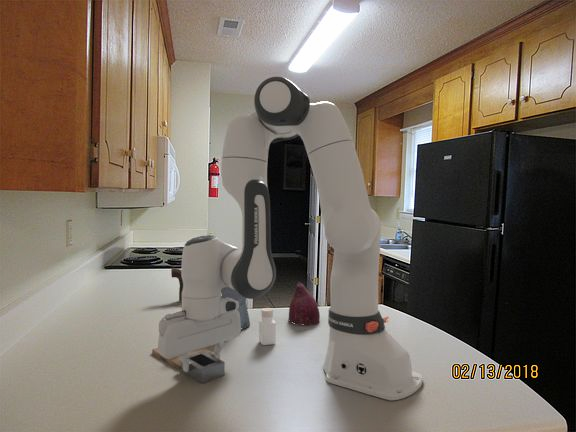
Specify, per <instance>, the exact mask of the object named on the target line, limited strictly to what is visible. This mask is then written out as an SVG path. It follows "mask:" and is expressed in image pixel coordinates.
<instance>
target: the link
mask: <svg viewBox="0 0 576 432" xmlns="http://www.w3.org/2000/svg"><path fill="white" fill-rule="evenodd" d="M186 359H187V361H190V362H192V363H193V366H192V368H193V370H191V371H189V372H185V371H184V370H183V363H182V362H181V370H180V372H182V373H184V374H185V375H187V376H189V377H190V378H192V379H193V380H195V381H197V382H199V383H200V384H205V383H208V382H210V381H213V380H215V379H217V378H220V377H223V376H225V374H226V372H225V370H226V369H225V365H226V364H225V361H224V360H222V359H221V358H220V359H218V358H216V357H214V356H212V355H210V354H208V353H206V352H204V351H201V352H198V353H195V354H192V355H189V356H188V357H187V358H186Z"/></svg>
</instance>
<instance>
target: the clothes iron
mask: <svg viewBox="0 0 576 432" xmlns="http://www.w3.org/2000/svg"><path fill="white" fill-rule="evenodd" d="M170 271H171V278H173V279H174V278H176V279H178V283H179V291H178V298H179V299H178V300H179V302H181V303H182V290H183V280H182V276H181V269H180V268H174V267H171V270H170Z"/></svg>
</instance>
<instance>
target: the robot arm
mask: <svg viewBox="0 0 576 432" xmlns="http://www.w3.org/2000/svg"><path fill="white" fill-rule="evenodd" d="M253 101H254V102H253V103H254V105H253V106H254V109H255V112H253V113H250V114H247V113H246V114H238V115H236V116H234V117H232V119H231V120H230V121H229V122H228V125H227V127H226V128H227V129H226V131H225V136H224V141H223V145H222V153H221V165H220V166H221V167H220V175H221V183H222V186H223V188H224V189H225V191H226V192H227V194H229V195H230V196H231V197H232V198H233V199H234V200H235V201H236V202H237V204H238V206H239V208H240V211H241V216H242V237H241V238H242V239H241V240H242V244H241V248H239V247H237V246H234V245H231V244H229V243H227V242H225V241H222V240H221V239H219V238H218V237H217V236H215V235H212V234H211V235H209V234H208V235H201V236H196V237H193V238H191V239H188V240H187V241H186V242H185V243H184V246H183V249H182V255H181V269H180V270H181V276H182V280H183V290H182V302H181V310H180V311H176V312H173V313H168V314H165V315H164V317H162V318H161V320H159V321H158V322H159V323H158V332H159V333H158V334H159V335H158V340H157V341H158V342H157V348H158V353H159V354H160V355H161V356H162V357H164V358H166V359H171V358H174V357H177V356H178V357H179V359H180V360H181V362H182V363H183V370H184V371H185V372H189V371H191V370H193V368H192V366H193V363H192V362H190V361H187V359H186V358H187V357H188V353H190V352H193V351H196V350H199V349H202V348H205V349H206V348H208V347H211V346H215V347H214V350H213V353H211V355H212V356H214V357H216V358H218V359H220V360H221V353H222V351H223V349H224V347H225V342H228V341H230V340H234V339H236V338H238V337H239V336H240V334H241V331H242V329H241V320H240V314H239V312H238V311H237V309H238V308H239V302H238V301H236V300H233V299H231V298H227V297H223V296H222V294H221V289H222V288H224V287H229V288H231V289H233V290H235V291H237V292H238V293H239V294H240V295H242V296H243V297H245V298H246V299H249V300H254V299H255V300H256V299H259V298H261V297H264V296H265V295H266V294H267V293H269V292H270V291H271V289H272V288H273V286H274V284H275V281H276V278H277V268H276V264H275V260H274V258H273V253H272V244H271V243H272V241H271V240H272V236H271V233H272V231H271V230H272V229H271V228H272V227H271V200H270V198H271V197H270V193H269V192H270V191H269V188H268V159H269V150H270V145H271V143H272V144H276V143H279V142H283V141H288V140H292V139H295V138H296V137H300V138H301V140H302V141H303V142H302V143H303V145H304V148H305V151H306V154H307V157H308V160H309V164H310V167H311V172H312V173H313V177H314V182H315V184H316V189H317V192H318V193H317V194H318V201H319V206H320V212H321V217H322V222H323V225H324V236H325V240H326V241H327V243H328V244H329V246H330V247H331V248H333V250H334V251H333V258H332V259H333V260H332V266H331V267H332V268H331V273H330V285H329V286H330V288H329V289H330V293H329V295H330V296H329V297H330V307H329V308H328V313H327V314H328V318H327V319H328V320H327V321H328V323H327V324H328V326H329V335H328V344H327V349H326V355H325V358H324V362H323V365H322V366H323V367H322V368H323V372H324V373H325V381H326V382H327V383H329V384H333V385H335V386H340V387H342V388H345V389H346V388H347V389H348V390H349V389H350V390H353V391H356V392H360V393H363V394H366V395H370V396H372V397H376V398H380V399H384V400H385V401H397V400H401V399H405V398H406V397H409V396H411V395H413V394H414V393H416V392H417V391H418V390H419V389H420V388H422V385H423V376H422V374H421V373H419V372H417V371H414V370H413V367H412V361H411V357H410V354H409V352H408V350H407V349H406V348H405V347H404V346H403V345H401V344H400V342H399V341H398V340H396V339H395V337H393V335H392V334H391V333H389V332H388V330H387V329H386V326H385V323H388V322H389V320H388V319H389V316H386V317H382V314H381V312H380V310H379V273H380V258H381V257H380V254H381V252H380V251H381V232H382V227H381V225H382V224H381V219H380V217H379V215H378V213H377V212H376V211H375V210H374V209H373V208H372V205H371V203H370V199H369V195H368V190H367V185H366V181H365V179H364V178H365V177H364V172H363V169H362V166H361V164H360V160H359V157H358V153H357V149H356V147H355V143H354V141H353V140H354V139H353V137H352V134H351V132H350V129H349V126H348V124H347V122H346V119H345V118H344V117H343V114H342V113H341V110H340V109H339V107H338V106H337V105H335V104H334V103H332V102H329V101H320V102H316V103H311V102H310V101H311V100H310V98H309V96H308V95H307V94H306V93H305V92H304V91H302V90H301V89H300V88H299V87H298V86H297V85H296V84H295V83H293V81H291V80H289V79H287V78H286V77H283V76H271V77H268V78H267V79H264V81H262V82H261V83H260V85H258V87H256V90H255V94H254V99H253Z"/></svg>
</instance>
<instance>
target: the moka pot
mask: <svg viewBox="0 0 576 432" xmlns="http://www.w3.org/2000/svg"><path fill="white" fill-rule="evenodd" d="M221 296H223V297H227V298H231V299H233V300H236V301H238V302H239V308H238V309H237V311H238V312H239V314H240V320H241V328H245V327H247V326H248V327H250V325H251V322H250V317H249V311H248V306H247V298H245V297H243V296H242V295H240V294H239V293H238V292H237V291H235V290H233V289H231V288H229V287H224V288H222V289H221ZM248 327H247V328H248ZM245 329H246V328H245Z"/></svg>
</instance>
